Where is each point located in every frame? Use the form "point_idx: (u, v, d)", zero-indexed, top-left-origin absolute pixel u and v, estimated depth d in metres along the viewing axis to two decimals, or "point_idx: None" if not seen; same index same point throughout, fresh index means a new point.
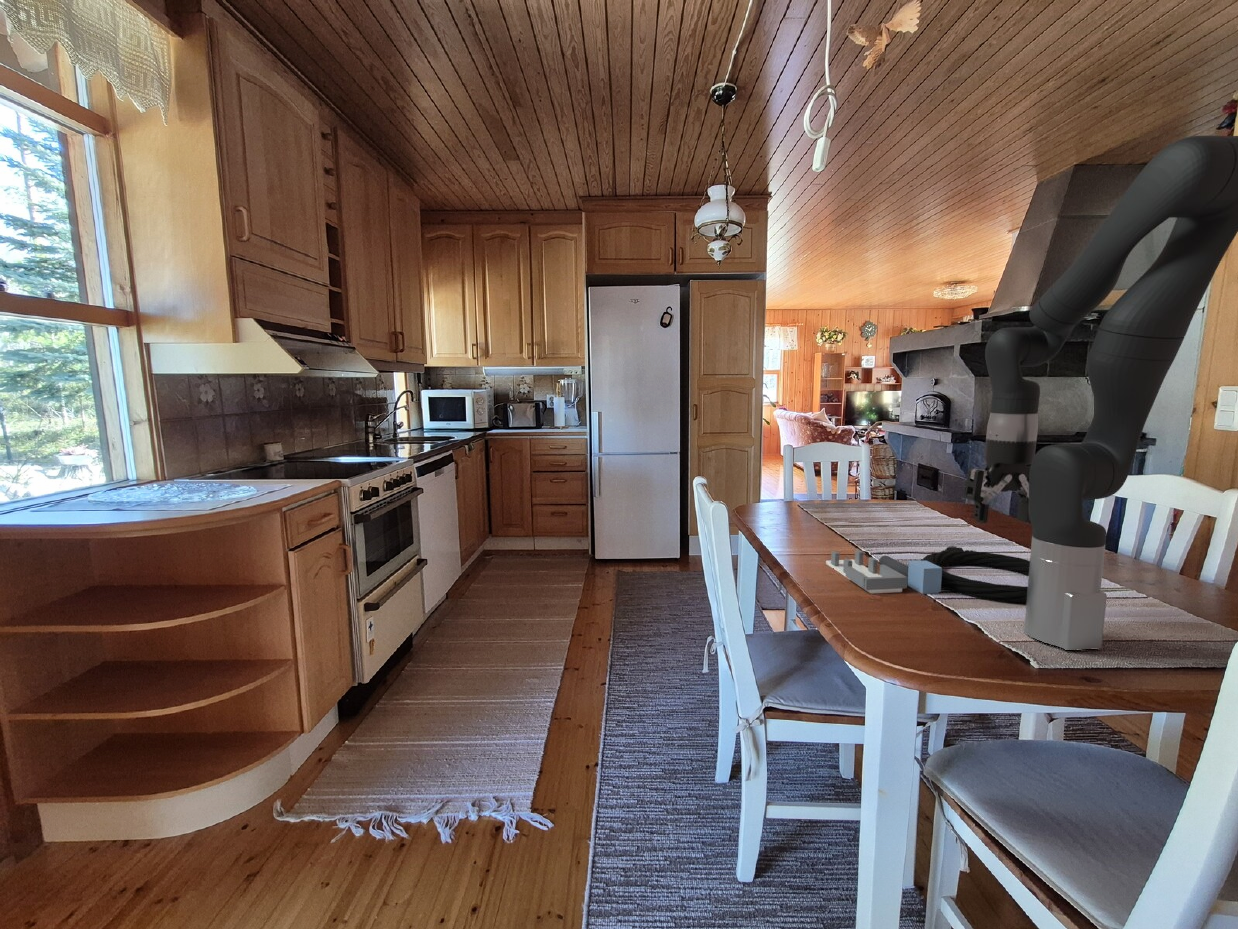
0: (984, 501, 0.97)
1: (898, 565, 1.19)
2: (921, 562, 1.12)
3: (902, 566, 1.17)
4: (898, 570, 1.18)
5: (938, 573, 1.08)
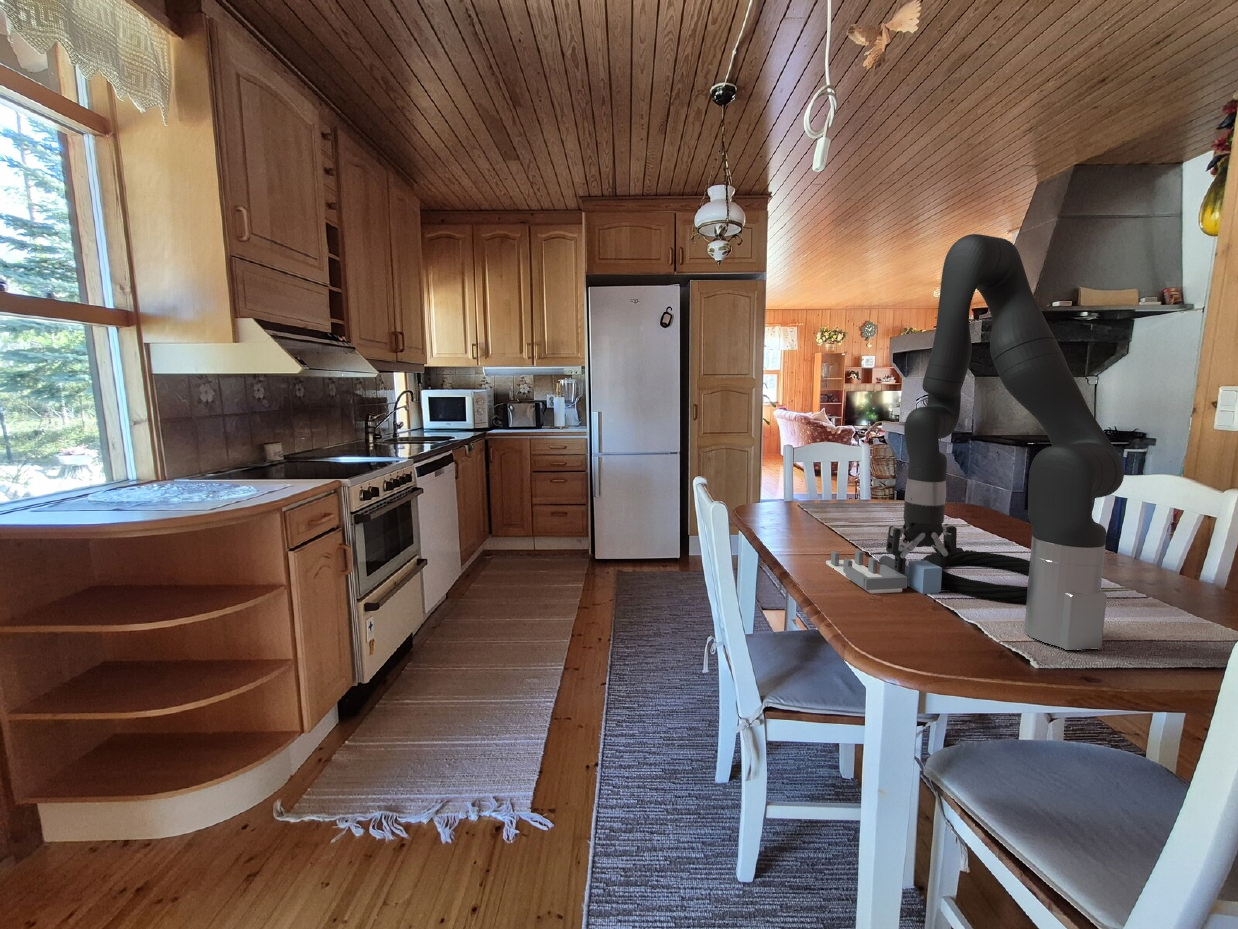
0: (901, 555, 1.11)
1: None
2: (921, 562, 1.12)
3: None
4: None
5: (938, 573, 1.08)
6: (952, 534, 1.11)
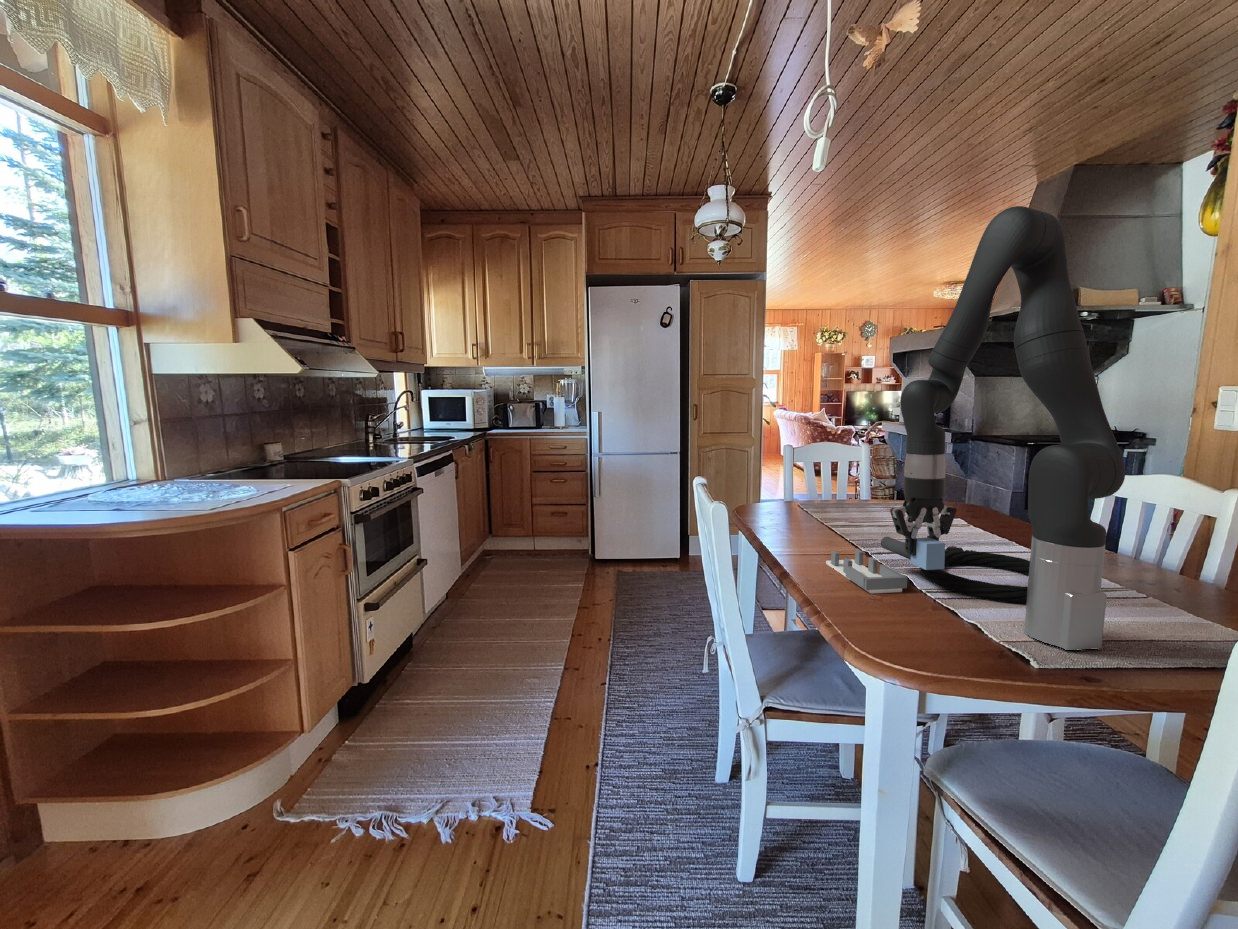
0: (912, 536, 1.09)
1: (900, 545, 1.17)
2: (923, 539, 1.10)
3: (904, 545, 1.16)
4: (900, 549, 1.16)
5: (941, 548, 1.07)
6: (950, 514, 1.10)
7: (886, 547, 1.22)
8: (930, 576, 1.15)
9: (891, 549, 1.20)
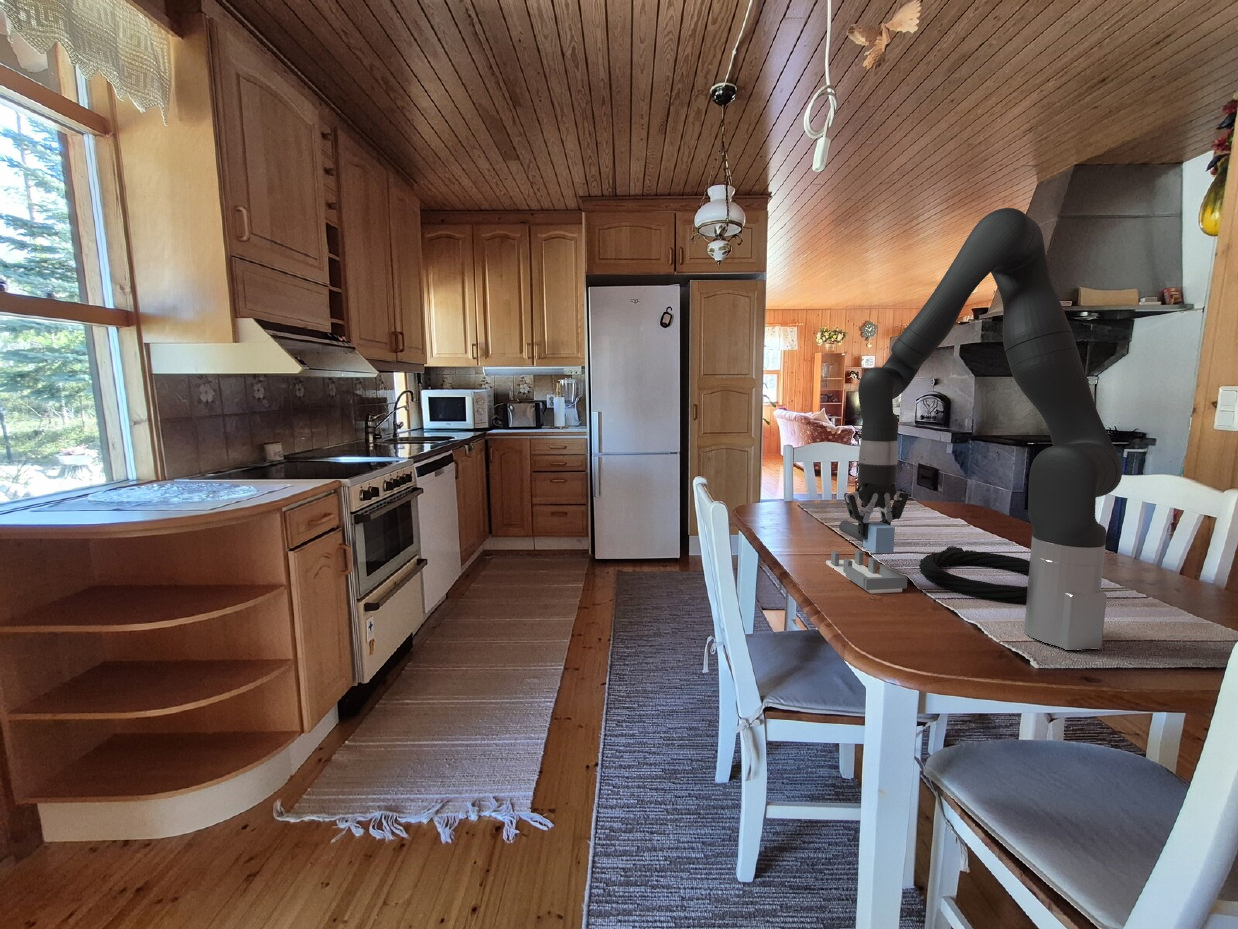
0: (864, 520, 1.12)
1: (855, 528, 1.20)
2: (875, 523, 1.13)
3: None
4: (855, 533, 1.19)
5: (891, 532, 1.10)
6: (902, 500, 1.12)
7: (843, 530, 1.24)
8: (930, 576, 1.15)
9: (847, 532, 1.22)
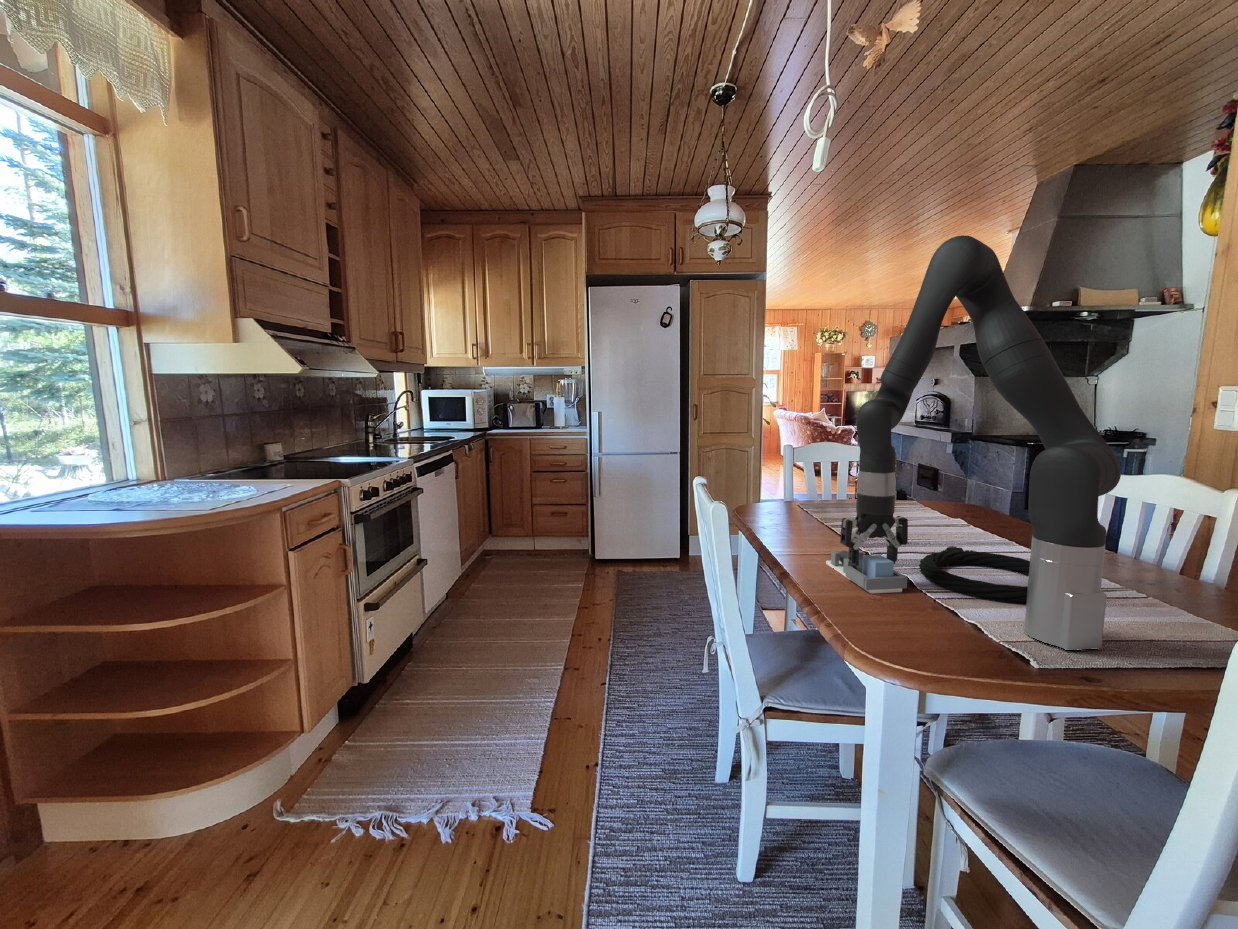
0: (854, 547, 1.12)
1: None
2: (874, 556, 1.14)
3: None
4: None
5: (890, 567, 1.10)
6: (903, 525, 1.13)
7: (842, 561, 1.25)
8: (930, 576, 1.15)
9: None
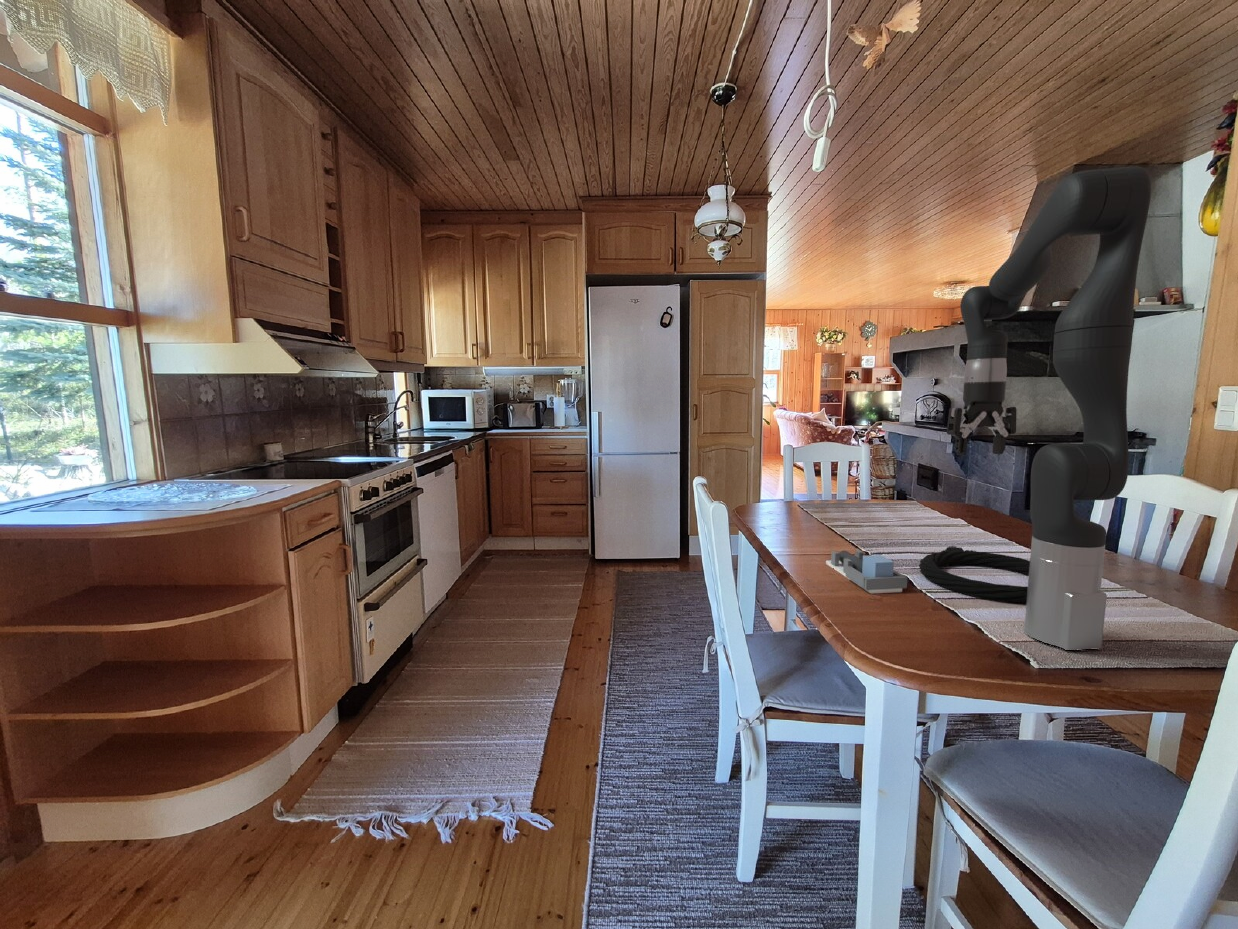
0: (963, 435, 1.12)
1: (854, 560, 1.20)
2: (874, 556, 1.14)
3: (858, 561, 1.19)
4: (854, 565, 1.19)
5: (890, 567, 1.10)
6: (1012, 414, 1.13)
7: (842, 561, 1.25)
8: (930, 576, 1.15)
9: None
